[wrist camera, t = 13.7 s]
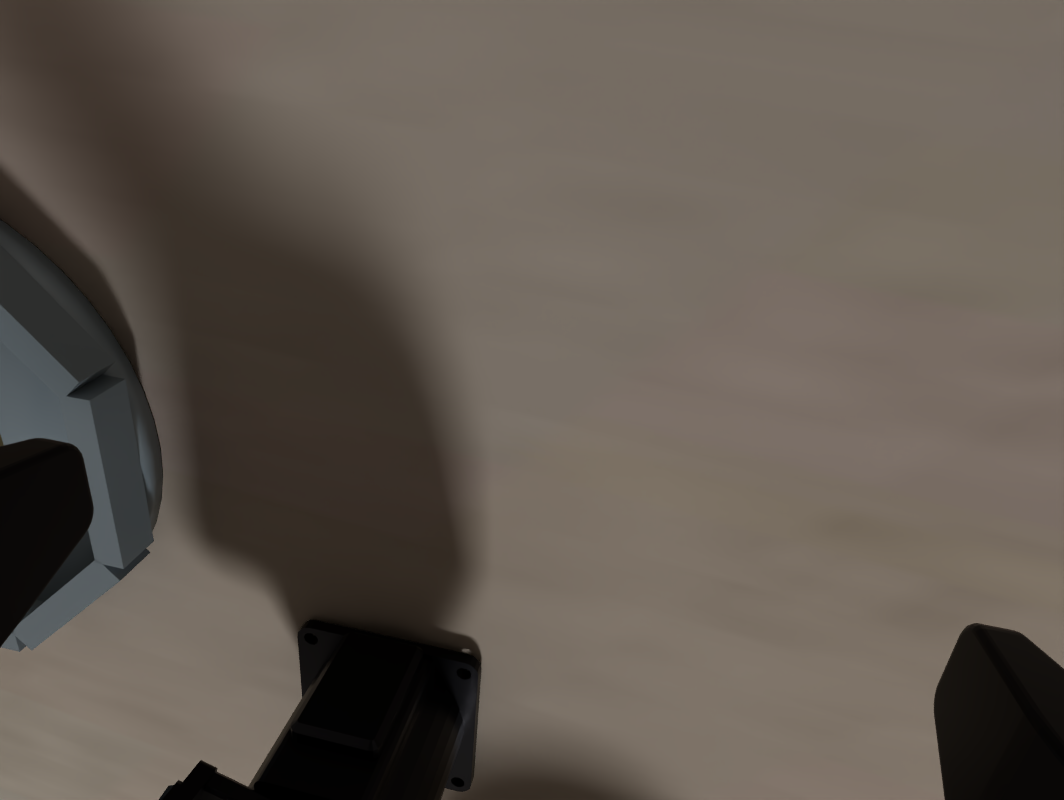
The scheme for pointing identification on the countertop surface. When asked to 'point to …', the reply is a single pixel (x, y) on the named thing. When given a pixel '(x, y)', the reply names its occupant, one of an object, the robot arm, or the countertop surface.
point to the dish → (75, 426)
